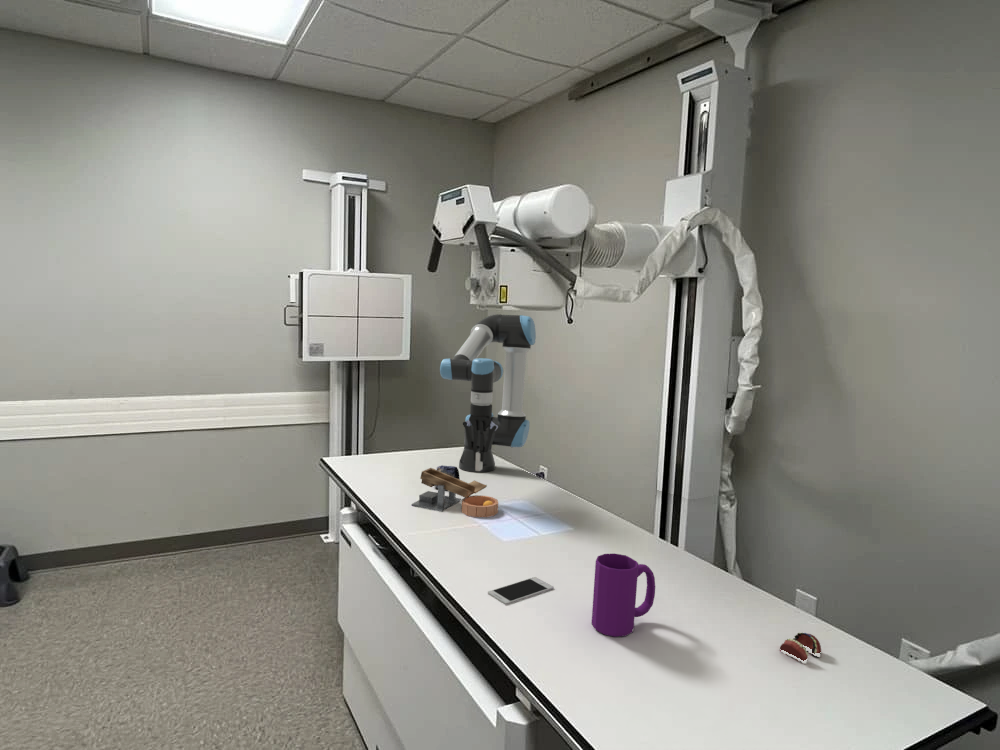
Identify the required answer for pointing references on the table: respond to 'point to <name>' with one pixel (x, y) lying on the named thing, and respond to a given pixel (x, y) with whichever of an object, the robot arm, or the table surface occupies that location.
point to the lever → (450, 483)
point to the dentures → (801, 645)
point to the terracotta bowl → (479, 506)
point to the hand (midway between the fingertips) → (478, 470)
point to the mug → (619, 594)
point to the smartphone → (520, 590)
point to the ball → (487, 503)
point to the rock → (449, 471)
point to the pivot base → (437, 500)
